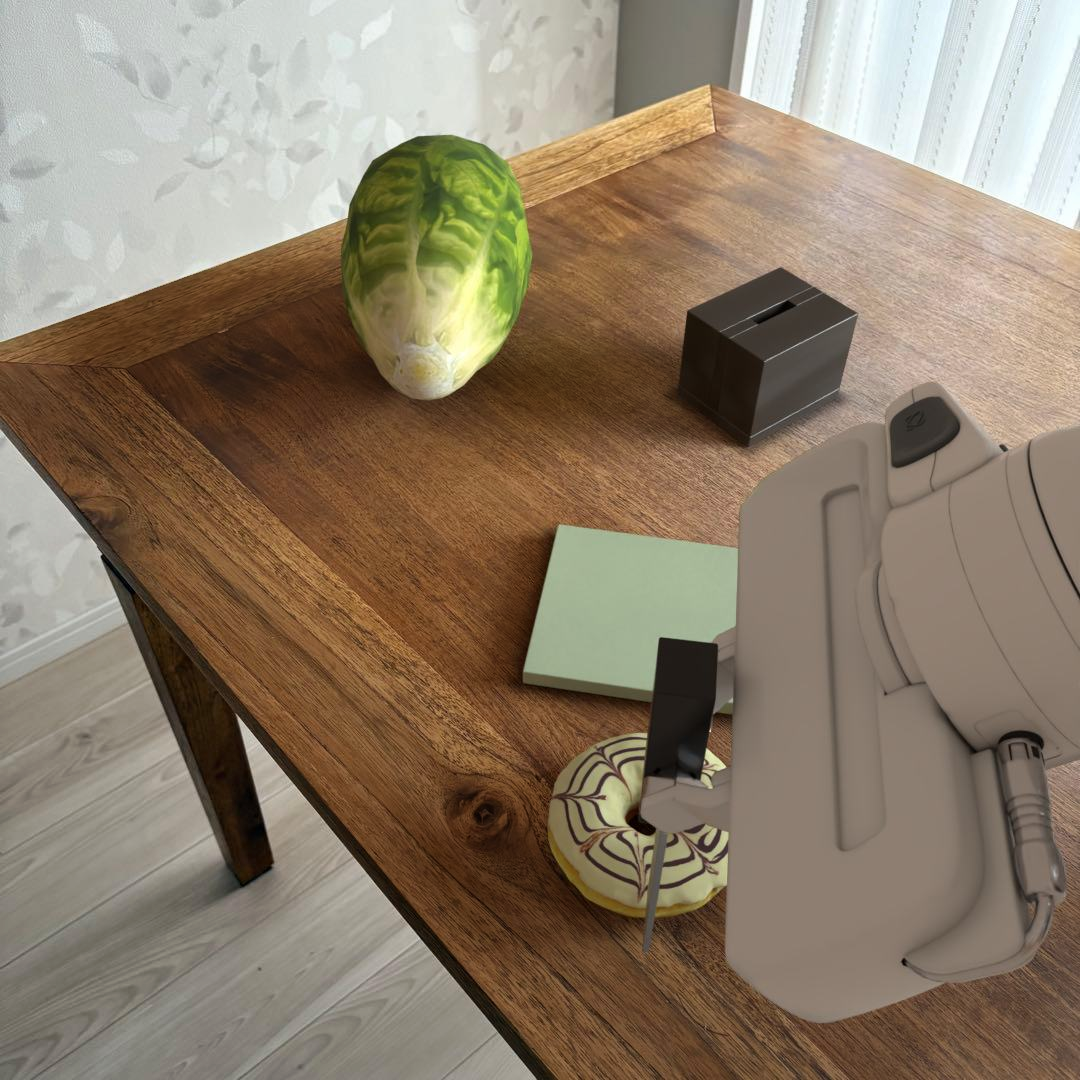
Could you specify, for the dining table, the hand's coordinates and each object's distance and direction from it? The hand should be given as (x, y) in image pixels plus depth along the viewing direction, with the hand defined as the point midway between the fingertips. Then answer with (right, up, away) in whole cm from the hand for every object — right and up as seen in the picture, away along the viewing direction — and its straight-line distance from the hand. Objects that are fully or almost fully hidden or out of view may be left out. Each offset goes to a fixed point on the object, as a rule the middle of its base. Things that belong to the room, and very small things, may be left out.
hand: (656, 761), depth 41 cm
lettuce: (-12, +24, +52) cm, 58 cm away
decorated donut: (+2, -9, +20) cm, 22 cm away
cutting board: (+6, +2, +31) cm, 31 cm away
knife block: (+13, +20, +48) cm, 53 cm away
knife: (+1, -9, +9) cm, 12 cm away
